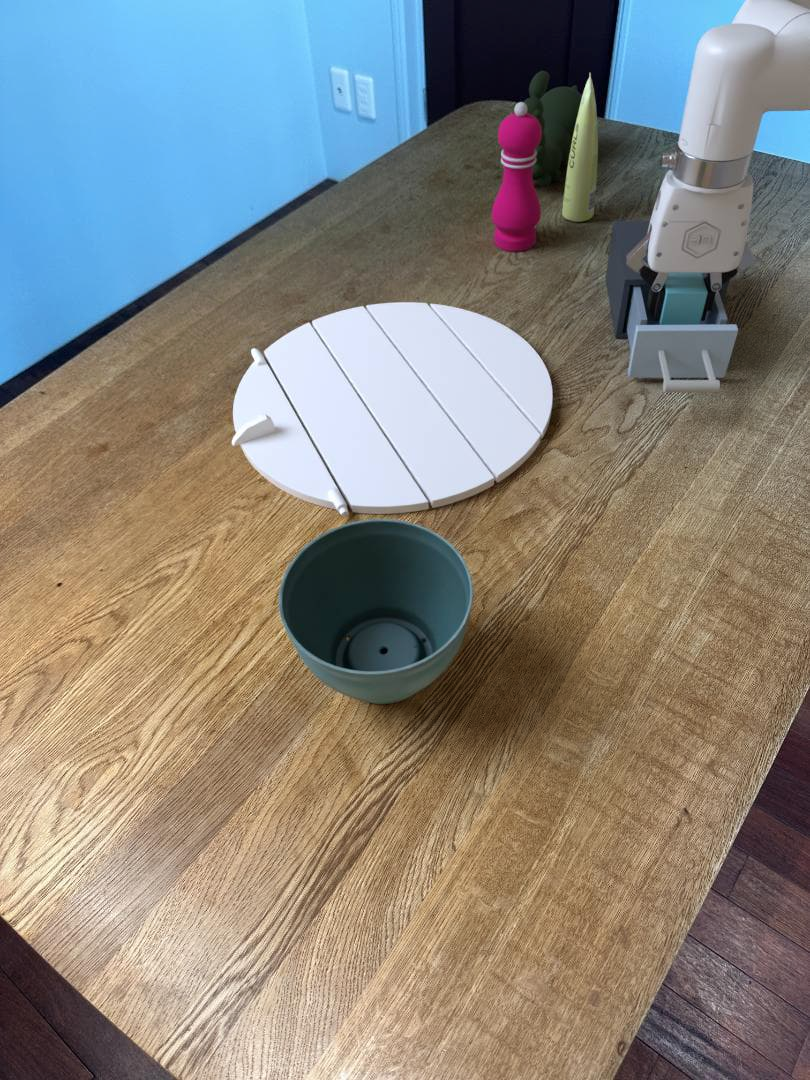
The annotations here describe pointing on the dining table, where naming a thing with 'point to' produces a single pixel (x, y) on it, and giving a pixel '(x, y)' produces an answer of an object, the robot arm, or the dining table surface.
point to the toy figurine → (552, 126)
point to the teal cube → (683, 299)
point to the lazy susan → (393, 407)
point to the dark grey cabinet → (627, 270)
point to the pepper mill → (517, 182)
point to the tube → (582, 161)
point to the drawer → (678, 346)
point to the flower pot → (377, 607)
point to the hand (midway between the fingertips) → (677, 313)
